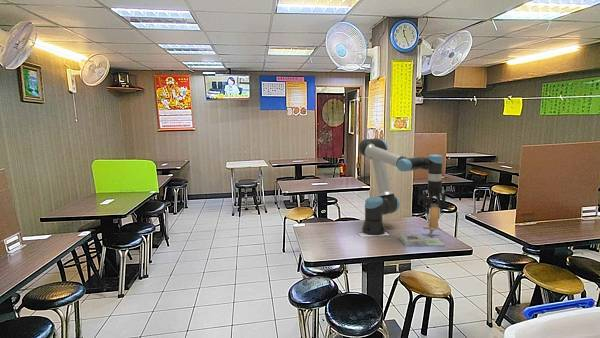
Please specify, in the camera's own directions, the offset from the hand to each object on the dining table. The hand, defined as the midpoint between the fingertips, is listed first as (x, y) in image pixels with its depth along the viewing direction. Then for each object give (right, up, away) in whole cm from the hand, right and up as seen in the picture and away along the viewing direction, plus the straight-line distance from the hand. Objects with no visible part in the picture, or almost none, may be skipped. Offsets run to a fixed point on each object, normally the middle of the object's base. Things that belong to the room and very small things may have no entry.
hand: (433, 218), depth 190 cm
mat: (0, -15, +2) cm, 16 cm away
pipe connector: (+5, -14, +16) cm, 22 cm away
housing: (-12, -15, +3) cm, 20 cm away
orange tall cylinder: (0, -5, +1) cm, 5 cm away
